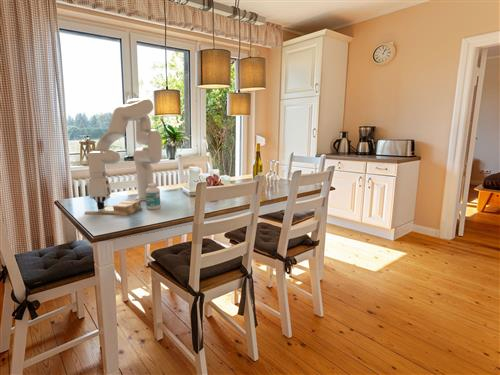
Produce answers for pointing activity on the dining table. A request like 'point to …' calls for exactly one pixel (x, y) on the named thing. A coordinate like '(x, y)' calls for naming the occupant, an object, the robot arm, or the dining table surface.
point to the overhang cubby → (121, 208)
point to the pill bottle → (152, 197)
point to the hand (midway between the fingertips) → (101, 208)
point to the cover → (107, 209)
